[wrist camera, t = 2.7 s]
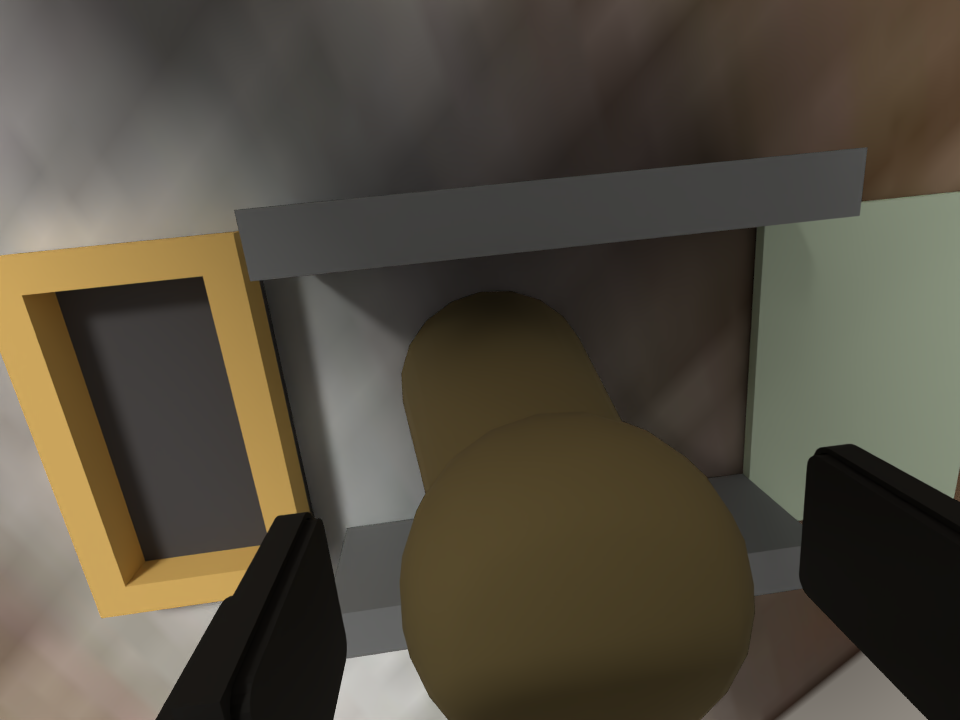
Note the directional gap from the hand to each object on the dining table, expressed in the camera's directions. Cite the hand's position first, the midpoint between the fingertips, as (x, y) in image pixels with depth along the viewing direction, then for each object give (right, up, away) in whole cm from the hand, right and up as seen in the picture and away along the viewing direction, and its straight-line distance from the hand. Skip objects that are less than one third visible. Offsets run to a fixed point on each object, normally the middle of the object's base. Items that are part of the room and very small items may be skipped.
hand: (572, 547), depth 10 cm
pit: (-11, +2, +6) cm, 13 cm away
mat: (+11, +3, +8) cm, 14 cm away
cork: (-1, +3, +7) cm, 8 cm away
